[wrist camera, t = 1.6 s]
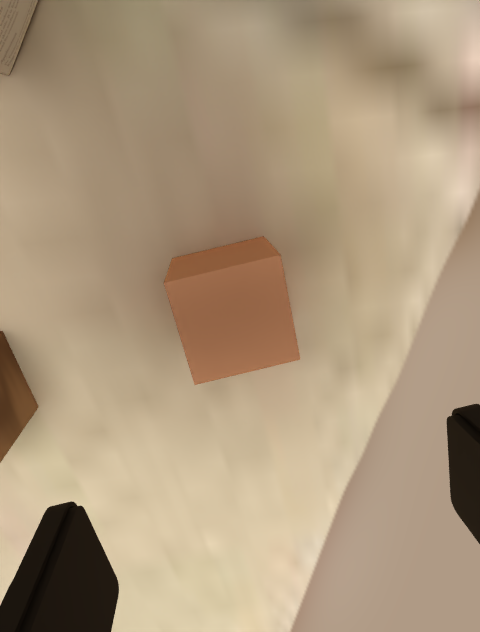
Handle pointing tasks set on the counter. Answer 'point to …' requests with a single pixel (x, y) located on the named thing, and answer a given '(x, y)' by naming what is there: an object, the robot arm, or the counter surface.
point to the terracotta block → (232, 309)
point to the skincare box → (13, 29)
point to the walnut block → (12, 398)
